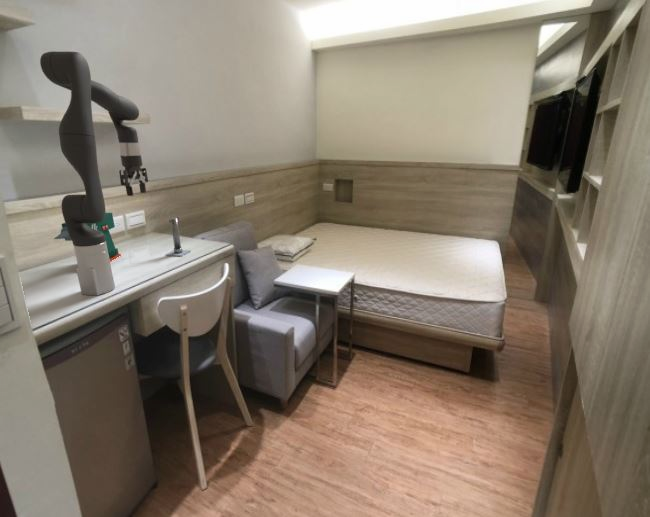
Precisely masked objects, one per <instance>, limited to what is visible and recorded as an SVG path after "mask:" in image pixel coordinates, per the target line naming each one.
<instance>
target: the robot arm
mask: <svg viewBox="0 0 650 517" xmlns="http://www.w3.org/2000/svg"><path fill="white" fill-rule="evenodd" d="M39 63H40V64H39V65H40V68H41V71H42V72H43V74H44V76H45V77H46V79H48V80H49V81H50V82H52V83H53V84H54V85H56V86H59V87H61V88H64V89H66V90H69V91H70V101H69V105H68V107H67V108H66V111H65V113H64V114H63V116H62V119H61V120H60V122H59V127H58V136H59V143H60V144H59V145H60V150H61V152H62V154H63V156H64V158H65V159H66V160H67V161H68V163H69V165H71V166H72V168H73V169H74V170H75V172H77V174H78V176H79V177H80V178H81V181H82V183H83V187H84V191H85V194H84V193H83V194H81V193H80V194H77V193H76V194H66V195H65V196H64V197H63V198H62V199H61V203H60V205H61V213H62V217H63V220H64V223H65V224H66V227H67V230H68V234H69V236H70V238H71V240H72V241H71V242H72V245H73V250H74V254H75V258H76V263H77V267H76V276H77V279H78V283H79V287H80V291H81V295H88V296H100V295H102V294H105V293H109V292H111V291H113V290H114V289H115V288H116V286H115V284H116V283H115V280H114V276H113V270H112V266H111V262H110V259H109V255H108V250H107V244H106V239H105V235H104V233H102V232H100V231H97V230H95V229H92V228H91V227H89V226H88V225H87V224H86V223H100V222H102V221H103V220H104V218H105V213H106V204H105V198H104V197H105V196H104V193H103V189H102V185H101V184H102V183H101V179H100V175H99V174H100V173H99V165H98V156H97V142H96V134H95V129H94V121H93V113H92V112H93V110H92V108H93V107H92V102H93V103H94V104H97V105H98V106H100V107H101V108H102V109H103V110H105V111H107V112H108V115H109V117H110V119H111V121H112V123H113V126H114V129H115V131H116V133H117V134H116V135H117V139H118V147H119V148H118V149H119V156H120V162H121V166H122V167H124V169H120V170H119V180H120V185H121V186H124V187H125V189H126V190H125V191H126V195H127V196H128V197H133V196H134V192H133V190H134V189H133V183H134V182H135V181H137V182H138V186H139V189H140V191H139V192H140V193H141V194H142V193H143V194H145V193H147V188H146V184H147V183H148V182H149V179H148V178H149V177H148V173H147V168H146V167H143V160H142V159H143V157H142V152H141V148H140V144H139V136H138V132H137V131H138V130H136V128H134V127H131V126H128V125H126V124H125V122H124V121H127V122H129V121H130V122H132V121H136V120H137V119H139V116H140V110H139V108H138V106H137V104H136V103H135V102H133V101H132V100H130V99H128V98H126V97H124V96H121V95H119V94H117V93H116V92H114V91H113V90H112V89H110V88H109V87H107V86H106V85H104V84H102V83H99V82H97V81H94V80H92V77H91V76H92V75H91V70H90V66H89V64H88V61H87V58H85V56H84V55H83V54H82V53H80V52H78V51H66V50H65V51H47V52H44V53H43V54H41V56H40V61H39Z"/></svg>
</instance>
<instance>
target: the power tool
mask: <svg viewBox="0 0 650 517" xmlns="http://www.w3.org/2000/svg"><path fill="white" fill-rule="evenodd" d="M86 224H87V225H88V226H89V227H91V228H92V229H95V230H97V231H100V232H102V233H104V235H105V239H106V244H107V250H108V255H109V259H110V263H112V262H113V261H115V260H117V259H118V258H120V257H122V253H119V248H116V246H115V244H114V240H113V238H112V235H111V232H110V230H112V229H115V227H116V226H115V220H114V215H113V213H112V212H105V218H104V220H103V221H102V222H100V223H86ZM61 239H62V240H63V239H64V240H65V241H68V242H70V241H71V242H72V240H71V238H70V236H69V234H68V230H67V227H66V224H65V222H63V223H61V230H60V233H59V234H58V235H57V236H56V237H54V238H53V240H61ZM119 256H120V257H119ZM117 257H118V258H117ZM116 258H117V259H116ZM114 259H115V260H114ZM112 260H113V261H112Z"/></svg>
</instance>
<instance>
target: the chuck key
mask: <svg viewBox="0 0 650 517" xmlns="http://www.w3.org/2000/svg"><path fill="white" fill-rule="evenodd" d="M179 219H180V217H178V216H176V217H171V218H170V219H169V221H168V222H169V223H170V224H171V225H170V226H171V233H172V238H173V239H172V240H173V250H174V253H175V254H179V253H182V250H183V247H182V244H181V237H180V236H181V235H180V229H179V222H178V220H179Z"/></svg>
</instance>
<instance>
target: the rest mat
mask: <svg viewBox="0 0 650 517" xmlns="http://www.w3.org/2000/svg"><path fill="white" fill-rule="evenodd" d="M189 251H190V252H192V251H191V250H190V249H189V250H187V249H182V253H179V254H175V253H174V249H173V250H171V251H170V252H167V253H166V254H164V255H168V256H167V257H180V256H182V257H184V256H185V255H187V254H189V253H190V252H189ZM188 252H189V253H188ZM186 253H187V254H186ZM183 255H184V256H183Z"/></svg>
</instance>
